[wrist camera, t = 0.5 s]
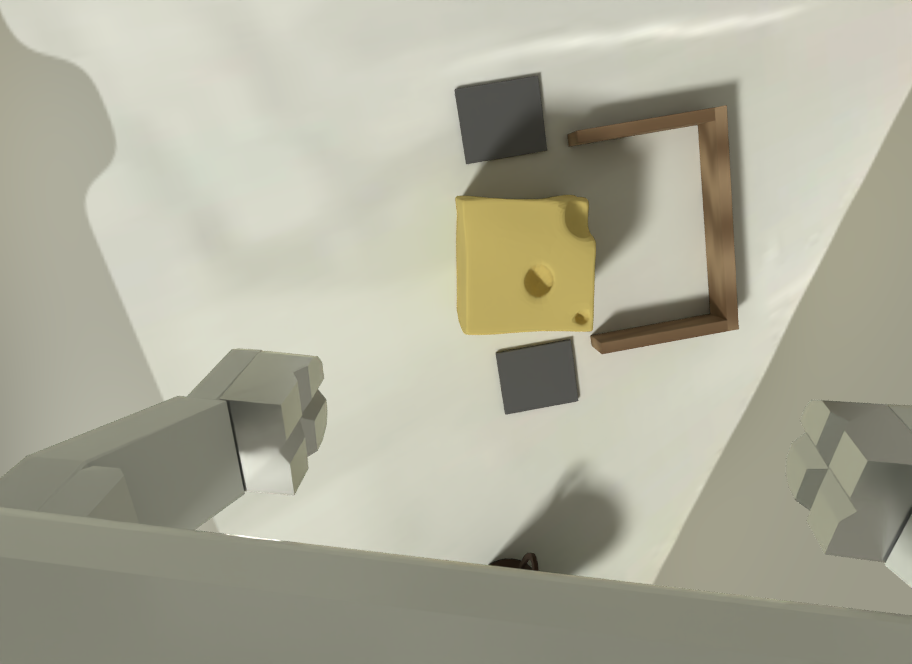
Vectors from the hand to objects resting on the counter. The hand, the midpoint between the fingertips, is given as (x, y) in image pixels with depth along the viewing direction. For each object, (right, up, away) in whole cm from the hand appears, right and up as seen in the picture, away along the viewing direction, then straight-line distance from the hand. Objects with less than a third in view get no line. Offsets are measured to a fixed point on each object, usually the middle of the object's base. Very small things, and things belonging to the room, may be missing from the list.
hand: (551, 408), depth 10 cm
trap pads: (+4, +8, +42) cm, 43 cm away
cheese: (+3, +8, +42) cm, 43 cm away
